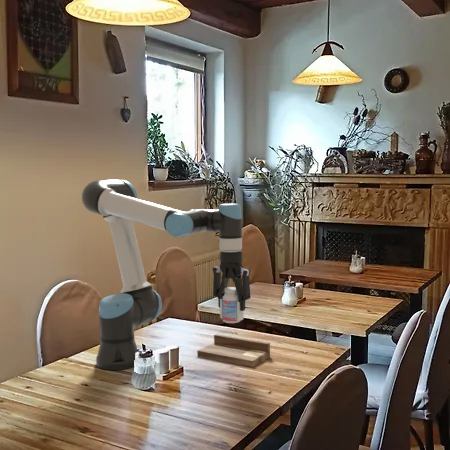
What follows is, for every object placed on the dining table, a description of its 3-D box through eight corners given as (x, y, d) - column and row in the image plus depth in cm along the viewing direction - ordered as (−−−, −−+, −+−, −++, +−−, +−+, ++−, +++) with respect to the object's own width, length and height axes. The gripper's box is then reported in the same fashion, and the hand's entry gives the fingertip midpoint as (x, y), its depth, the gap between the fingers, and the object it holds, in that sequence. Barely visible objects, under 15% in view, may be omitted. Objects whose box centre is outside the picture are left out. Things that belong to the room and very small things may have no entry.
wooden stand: (252, 366, 199) (252, 352, 198) (197, 356, 211) (197, 342, 211) (270, 356, 209) (269, 343, 208) (216, 347, 221) (216, 334, 221)
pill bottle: (219, 322, 196) (219, 289, 195) (228, 318, 202) (227, 285, 201) (235, 324, 193) (235, 290, 192) (244, 320, 199) (243, 287, 198)
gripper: (261, 250, 193) (262, 320, 195) (213, 247, 204) (215, 312, 206) (249, 253, 187) (250, 325, 189) (201, 249, 197) (202, 317, 200)
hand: (231, 318), depth 198 cm, fingers closed on pill bottle, 6 cm apart
